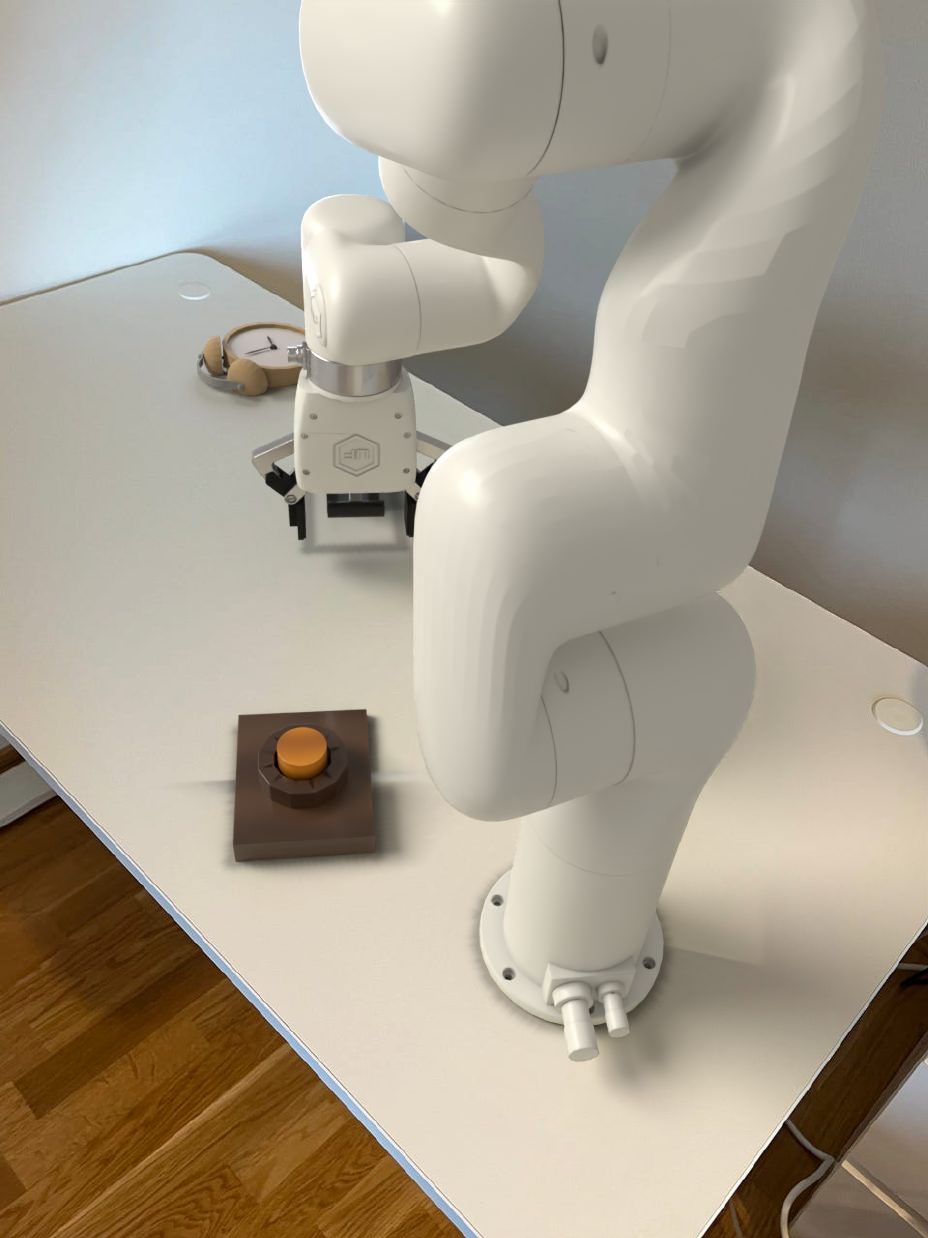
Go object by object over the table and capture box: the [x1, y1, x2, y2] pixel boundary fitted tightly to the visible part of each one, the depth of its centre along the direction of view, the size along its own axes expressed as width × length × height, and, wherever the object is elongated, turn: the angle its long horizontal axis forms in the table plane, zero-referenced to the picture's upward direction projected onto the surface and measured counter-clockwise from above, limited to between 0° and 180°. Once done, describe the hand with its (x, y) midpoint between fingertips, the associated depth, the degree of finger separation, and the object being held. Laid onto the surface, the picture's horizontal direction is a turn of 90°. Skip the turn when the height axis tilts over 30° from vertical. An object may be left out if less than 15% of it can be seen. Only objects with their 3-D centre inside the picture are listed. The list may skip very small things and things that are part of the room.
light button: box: [277, 727, 327, 780], centre depth 78 cm, size 4×4×2 cm
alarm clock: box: [196, 321, 306, 397], centre depth 121 cm, size 11×5×15 cm
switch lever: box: [326, 493, 386, 519], centre depth 96 cm, size 12×5×2 cm, turn 7°
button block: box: [232, 708, 376, 862], centre depth 80 cm, size 12×10×4 cm
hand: (355, 528), depth 96 cm, fingers open, 9 cm apart
